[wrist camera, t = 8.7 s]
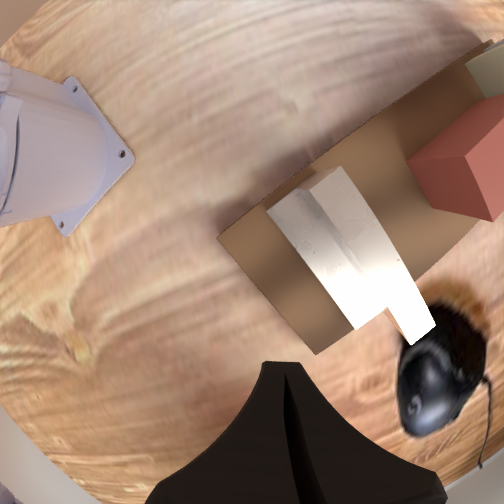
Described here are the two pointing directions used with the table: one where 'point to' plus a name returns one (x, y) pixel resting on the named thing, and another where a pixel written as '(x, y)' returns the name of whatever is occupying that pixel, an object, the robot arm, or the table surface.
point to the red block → (466, 163)
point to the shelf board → (376, 196)
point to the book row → (489, 70)
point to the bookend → (351, 252)
